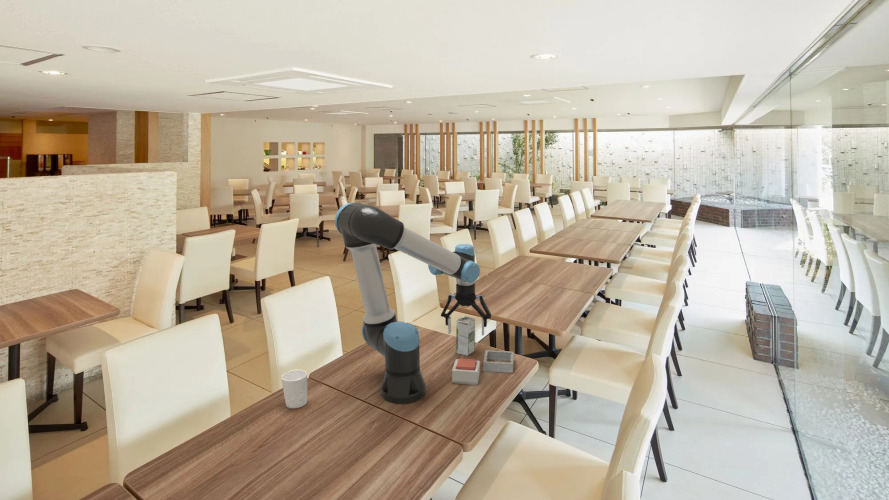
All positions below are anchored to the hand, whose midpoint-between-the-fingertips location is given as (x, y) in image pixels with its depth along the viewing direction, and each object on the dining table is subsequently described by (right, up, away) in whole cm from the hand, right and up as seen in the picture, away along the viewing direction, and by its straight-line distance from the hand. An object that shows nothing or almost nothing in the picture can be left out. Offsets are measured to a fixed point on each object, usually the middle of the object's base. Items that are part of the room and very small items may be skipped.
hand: (466, 333), depth 185 cm
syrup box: (0, -8, +2) cm, 8 cm away
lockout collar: (+12, -10, -11) cm, 19 cm away
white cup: (-57, -17, -35) cm, 69 cm away
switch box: (-1, -12, -20) cm, 24 cm away
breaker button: (-1, -12, -20) cm, 23 cm away
